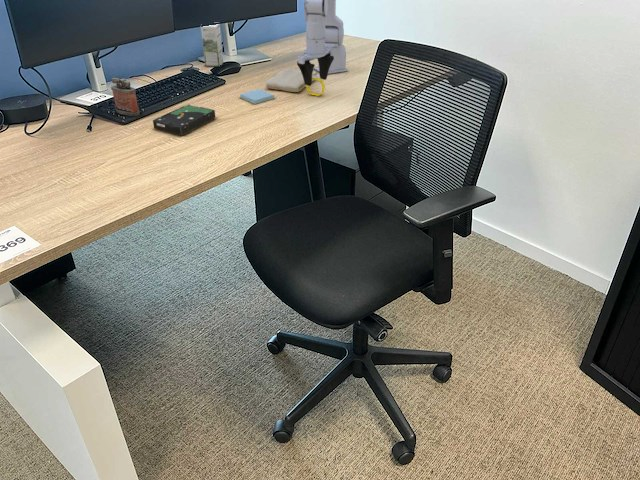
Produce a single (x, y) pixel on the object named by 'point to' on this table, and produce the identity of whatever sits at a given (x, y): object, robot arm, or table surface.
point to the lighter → (125, 97)
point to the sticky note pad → (257, 96)
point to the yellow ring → (321, 84)
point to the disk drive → (184, 119)
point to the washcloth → (288, 80)
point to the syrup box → (212, 45)
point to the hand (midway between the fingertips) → (315, 81)
